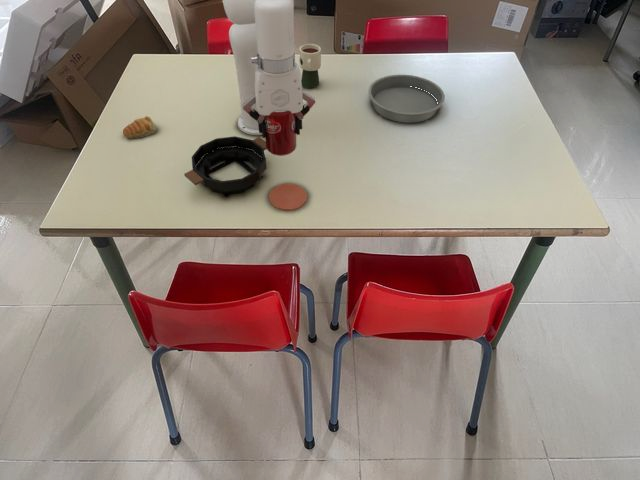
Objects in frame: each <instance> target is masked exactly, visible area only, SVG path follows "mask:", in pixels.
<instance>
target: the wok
mask: <svg viewBox="0 0 640 480" xmlns="http://www.w3.org/2000/svg"><path fill="white" fill-rule="evenodd" d="M266 150H267V148H266V140H264V138H261V137H260V136H258V137H255V138H254V139H250V138H245V137H240V136H234V135H233V136H225V137H217V138H214V139H212V140H210V141H208V142H206V143H204V144H201V145H199V147H198V148H197V150H196V151H195V152H194V153H193V154H192V155H191V166H192V167H191V170H189V171H188V172H184V173H183V176H184V177H185V178H186V179H188V181H190V183H192V184H193V185H194V186H197V185H200V184H201V185H202V186H203V187H205V188H207V189H208V190H210V191H211V193H216V194H218V195H222V196H223V197H225V198H229V197H230V196H232V195H237V194H238V195H239V194H244V193H246V192H247V191H249V190H251V189H252V188H254V187H255V186H256V185H257V184H258V182H259V181H260V180H261V179H264V176H263V175H264V173H265V172H266V171H267V169H268V168H267V167H268V166H267V158H266V154H265V151H266ZM233 163H236V164H238V165H239V166H240V167H241V168H243V169H244V170H245V171H247V172H248V173H249V174H248V175H246V176H244V177H242V178H236V179H227V180H220V179H215V178H213V177H212V176H210V175H211V174H213V173H215V172H217V171H219V170H222V169H223V168H225V167H227V166H229V165H231V164H233ZM247 163H248V164H247ZM250 165H251V166H250Z"/></svg>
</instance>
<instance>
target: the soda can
mask: <svg viewBox="0 0 640 480" xmlns="http://www.w3.org/2000/svg"><path fill="white" fill-rule="evenodd" d="M264 122H265V131H266V137H265V138H264V139H265V141H266V148H267V149H266V150H267V151H268V153H270V154H272V155H274V156H278V157H284V156H289V155H291V154H292V153H294V151H295V150H296V149H297V146H298V145H297V134H296V114H295V113H291V111H288V110H285V111H273V112H272V113H270V115H268V116H265V118H264Z"/></svg>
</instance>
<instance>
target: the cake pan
mask: <svg viewBox="0 0 640 480" xmlns="http://www.w3.org/2000/svg"><path fill="white" fill-rule="evenodd" d="M410 86H412V87H410ZM415 87H417V88H415ZM418 88H420V89H418ZM421 89H422V90H421ZM424 90H425V91H424ZM426 91H427V92H426ZM428 92H429V93H430V94H429V93H428ZM431 94H432V95H433V96H434V97H435V98H436V99H437V101H436V99H435V98H434V97H433V96H432V95H431ZM368 96H369V98H370V100H371V104H372V107H373V109H374V111H376V113H378V114H379V115H380V116H382V117H383V118H386V119H388V120H390V121H393V122H397V123H404V124H405V123H406V124H407V123H408V124H413V123H414V124H415V123H422V122H425V121H427V120H429V119H431V118H432V117H434V116H435V115H436V113H437V111H438V109H440V108H441V107H442V106H443V104H444V102H445V98H446V97H445V96H446V95H445V93H444V90H443V89H442V88H441V87H440V86H439V85H438V84H437V83H436V82H433V81H431V80H430V79H427V78H425V77H421V76H417V75H412V74H390V75H385V76H382V77H380V78H378V79H376V80H374V81H373V82H372V83H371V84H370V85H369V87H368ZM437 102H438V104H437Z"/></svg>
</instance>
